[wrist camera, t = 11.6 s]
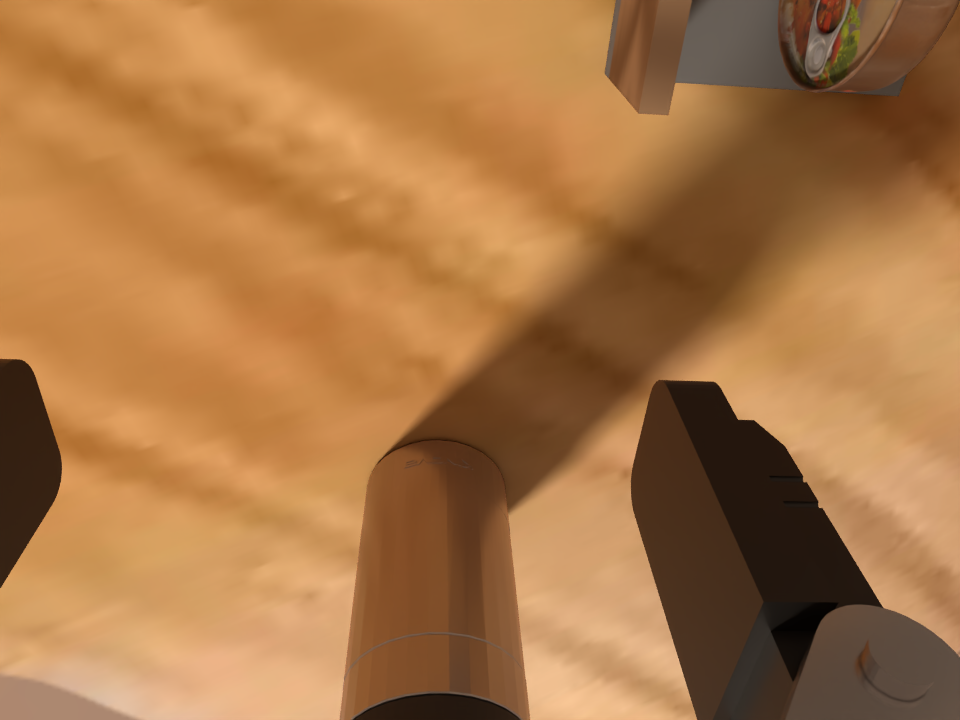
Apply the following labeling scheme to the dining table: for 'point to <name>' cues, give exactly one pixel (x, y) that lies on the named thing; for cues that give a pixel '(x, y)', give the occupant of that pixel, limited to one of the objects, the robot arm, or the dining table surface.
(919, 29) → the tin
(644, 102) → the walls
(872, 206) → the dining table surface
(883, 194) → the dining table surface
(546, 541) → the dining table surface
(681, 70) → the mat
